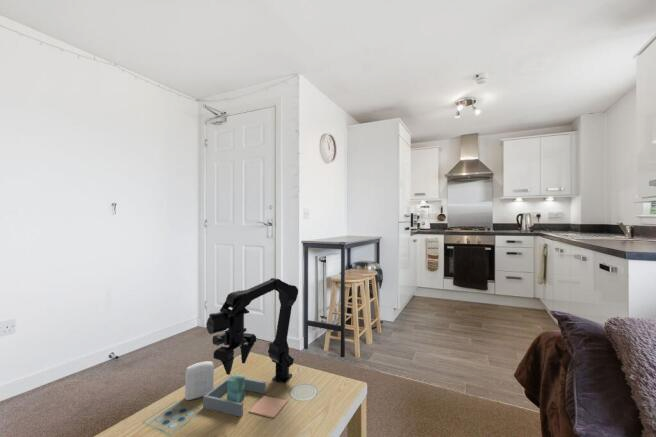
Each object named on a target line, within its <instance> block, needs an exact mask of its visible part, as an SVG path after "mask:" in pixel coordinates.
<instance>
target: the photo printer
mask: <svg viewBox="0 0 656 437" xmlns="http://www.w3.org/2000/svg"><path fill="white" fill-rule="evenodd" d="M214 379H215V366H214V363H213V361H210V360H209V361H205V360H204V361H200V362H197V363H194V364H190V365H189V366H188V367H186V371H185V379H184V381H185V382H184V384H185V387H184V390H185V391H184V399H185V400H186V401H190V400H194V399H198V398H201V397H203V396H204V395H206V394H207V393H208V392H210V391H211V390H213V389H214V388H215V386H214V385H215V384H214V383H215V382H214V381H215V380H214Z"/></svg>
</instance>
